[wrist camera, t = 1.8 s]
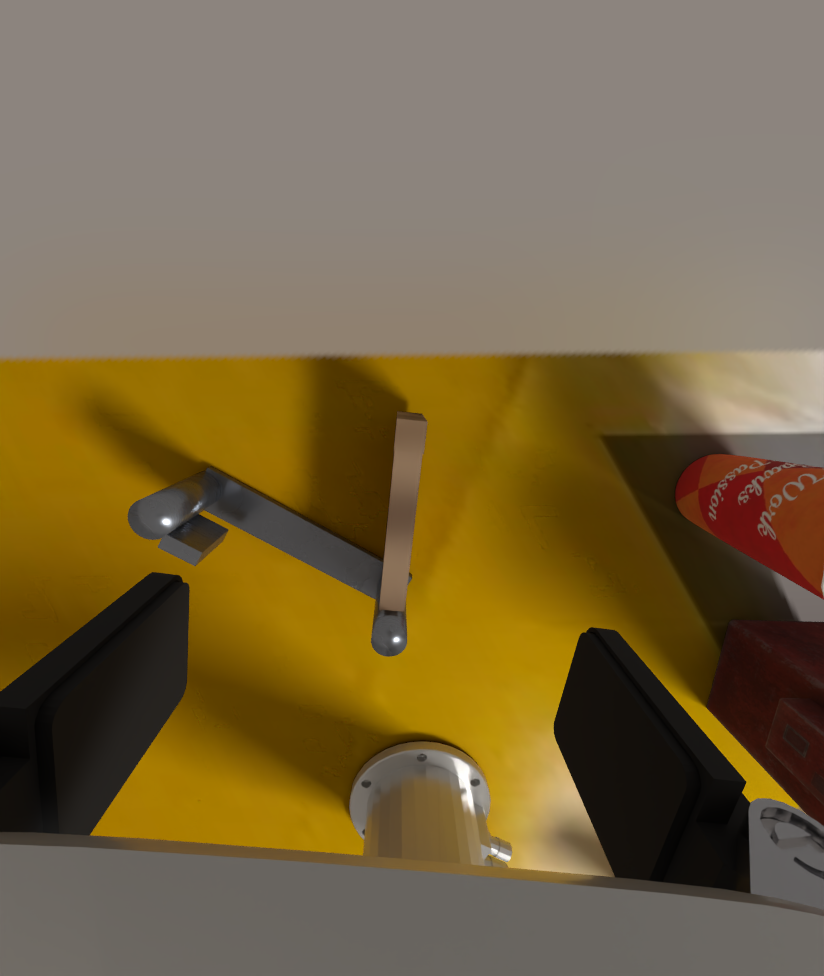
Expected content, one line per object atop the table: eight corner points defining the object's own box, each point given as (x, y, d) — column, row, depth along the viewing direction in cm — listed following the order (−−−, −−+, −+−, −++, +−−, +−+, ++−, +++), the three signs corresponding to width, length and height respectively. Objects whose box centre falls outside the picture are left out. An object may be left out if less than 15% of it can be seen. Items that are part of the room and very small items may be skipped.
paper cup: (741, 419, 31) (1013, 450, 17) (773, 506, 32) (1043, 595, 19) (643, 473, 31) (829, 543, 18) (680, 554, 33) (874, 674, 20)
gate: (404, 573, 32) (405, 614, 26) (381, 571, 32) (377, 612, 26) (421, 413, 29) (427, 421, 23) (397, 411, 29) (396, 418, 23)
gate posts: (413, 575, 33) (417, 630, 26) (390, 609, 34) (388, 672, 26) (202, 461, 30) (139, 486, 23) (182, 501, 31) (115, 538, 24)
